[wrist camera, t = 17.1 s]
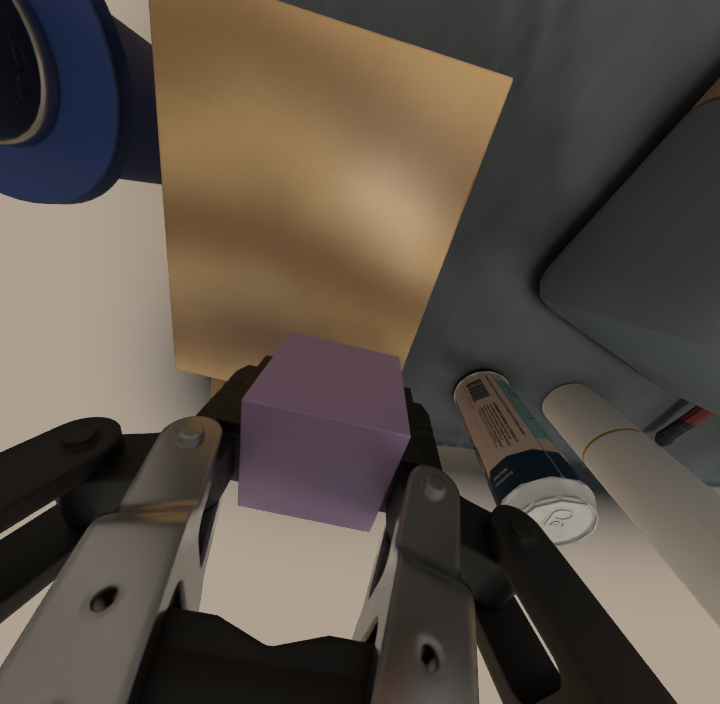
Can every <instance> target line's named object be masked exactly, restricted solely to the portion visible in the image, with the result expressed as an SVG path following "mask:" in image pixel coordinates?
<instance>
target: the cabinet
mask: <svg viewBox="0 0 720 704" xmlns="http://www.w3.org/2000/svg"><path fill="white" fill-rule="evenodd" d="M149 9H150V25H151V38H152V52H153V66H154V80H155V93H156V107H157V121H158V134H159V148H160V162H161V175H162V188H163V202H164V217H165V230H166V244H167V258H168V271H169V285H170V299H171V312H172V326H173V340H174V353H175V366H176V369H179V370H183V371H187V372H191V373H196V374H200V375H204V376H208V377H212V378H216V379H220V380H224V381H228V380H229V378H230V377H231V376H232V375H233V374H234V373H235V372H236V371H237V370H239V369H241V368H243V367H245V366H247V365H253V366H258V365H259V363H260V362H261V361H262V360H263V358H264V357H265V356H266V355H269V356H274V355H275V353H276V352H277V351H278V349H279V348H280V347H281V345H282V344H283V343H284V341H285V340H286V338H287V337H288V336H289V334H290V333H291V332H296V333H300V334H305V335H309V336H313V337H317V338H321V339H326V340H330V341H334V342H338V343H343V344H347V345H351V346H355V347H359V348H364V349H368V350H372V351H376V352H380V353H385V354H389V355H393V356H397V357H399V358H400V365H401V371H402V369H403V366H404V364H405V361H406V358H407V356H408V353H409V351H410V348H411V345H412V343H413V340H414V338H415V335H416V332H417V330H418V327H419V324H420V322H421V319H422V317H423V314H424V311H425V309H426V306H427V304H428V301H429V298H430V296H431V293H432V291H433V288H434V285H435V283H436V280H437V277H438V275H439V272H440V270H441V267H442V264H443V262H444V259H445V257H446V254H447V251H448V249H449V246H450V244H451V241H452V238H453V236H454V233H455V230H456V228H457V225H458V223H459V220H460V217H461V215H462V212H463V210H464V207H465V204H466V202H467V199H468V197H469V194H470V191H471V189H472V186H473V183H474V181H475V178H476V176H477V173H478V170H479V168H480V165H481V163H482V160H483V157H484V155H485V152H486V150H487V147H488V144H489V142H490V139H491V137H492V134H493V131H494V129H495V126H496V123H497V121H498V118H499V116H500V113H501V110H502V108H503V105H504V103H505V100H506V97H507V95H508V92H509V90H510V87H511V84H512V81H513V78H512V77H509V76H506V75H503V74H500V73H497V72H494V71H491V70H488V69H485V68H482V67H478V66H475V65H472V64H469V63H466V62H463V61H460V60H457V59H454V58H451V57H448V56H445V55H442V54H439V53H436V52H433V51H430V50H427V49H424V48H421V47H418V46H415V45H412V44H408V43H405V42H402V41H399V40H396V39H393V38H390V37H387V36H384V35H381V34H378V33H375V32H372V31H369V30H366V29H363V28H360V27H357V26H354V25H351V24H348V23H345V22H342V21H339V20H335V19H332V18H329V17H326V16H323V15H320V14H317V13H314V12H311V11H308V10H305V9H302V8H299V7H296V6H293V5H290V4H287V3H284V2H281V1H278V0H149Z"/></svg>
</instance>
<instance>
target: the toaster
mask: <svg viewBox="0 0 720 704" xmlns="http://www.w3.org/2000/svg"><path fill="white" fill-rule="evenodd" d="M540 297H541V299H542V300H543V301H544V302H545V304H546V305H547V306H548V307H549V308H550V309H551V310H552V311H553V312H554V313H556V314H557V315H559V316H560V317H561V318H563V319H564V320H566V321H567V322H569V323H570V324H571V325H573V326H574V327H576V328H577V329H578V330H580V331H581V332H583V333H584V334H586V335H587V336H588V337H590V338H591V339H593V340H594V341H596V342H597V343H598V344H600V345H601V346H603V347H604V348H606V349H607V350H608V351H610V352H611V353H613V354H614V355H615V356H617V357H618V358H620V359H621V360H623V361H624V362H625V363H627V364H628V365H630V366H631V367H633V368H634V369H635V370H637V371H638V372H640V373H641V374H642V375H644V376H645V377H647V378H648V379H650V380H651V381H652V382H654V383H655V384H657V385H658V386H660V387H661V388H662V389H664V390H665V391H667V392H669V393H671V394H674V395H676V396H678V397H680V398H682V399H684V400H686V401H688V402H691V403H693V404H695V405H697V406H699V407H701V408H703V409H706V410H708V411H710V412H712V413H714V414H716V415H718V416H720V78H719V79H718V80H717V81H716V82H715V83H714V84H713V85H712V87H711V88H710V89H709V90H708V91H707V92H706V93H705V94H704V95H703V97H702V98H701V99H700V100H699V101H698V102H697V103H696V104H695V105H694V106H693V108H692V109H691V110H690V112H689V113H688V114H686V115H685V116H684V117H683V119H682V120H681V121H680V122H679V123H678V124H677V125H676V126H675V127H674V129H673V130H672V131H671V132H670V133H669V134H668V135H667V136H666V137H665V138H664V140H663V141H662V142H661V143H660V144H659V145H658V146H657V147H656V148H655V149H654V151H653V152H652V153H651V154H650V155H649V156H648V157H647V158H646V159H645V160H644V162H643V163H642V164H641V165H640V166H639V167H638V168H637V169H636V170H635V172H634V173H633V174H632V175H631V176H630V177H629V178H628V179H627V180H626V181H625V183H624V184H623V185H622V186H621V187H620V188H619V189H618V190H617V191H616V192H615V194H614V195H613V196H612V197H611V198H610V199H609V200H608V201H607V202H606V204H605V205H604V206H603V207H602V208H601V209H600V210H599V211H598V212H597V213H596V215H595V216H594V217H593V218H592V219H591V220H590V221H589V222H588V223H587V224H586V226H585V227H584V228H583V229H582V230H581V231H580V232H579V233H578V234H577V236H576V237H575V238H574V239H573V240H572V241H571V242H570V243H569V244H568V245H567V247H566V248H565V249H564V250H563V251H562V252H561V253H560V254H559V255H558V256H557V258H556V259H555V260H554V261H553V262H552V263H551V264H550V265H549V266H548V267H547V269H546V271H545V273H544V275H543V276H542V278H541V280H540Z"/></svg>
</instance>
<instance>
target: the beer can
mask: <svg viewBox="0 0 720 704" xmlns="http://www.w3.org/2000/svg"><path fill="white" fill-rule="evenodd" d="M454 401H455V404H456V407H457V409H458V412H459V414H460V417H461V419H462V422H463V424H464V426H465V429H466V431H467V434H468V436H469V439H470V441H471V444H472V446H473V449H474V451H475V453H476V456H477V458H478V461H479V464H480V466H481V468H482V471H483V473H484V476H485V478H486V481H487V483H488V486H489V488H490V491H491V493H492V496H493V498H494V501H495V503H496V506H499V505H510V506H514V507H516V508H518V509H520V510H522V511H523V512H525V513H526V514H528V515H529V516H530V517H531V518H533V519H534V520H535V521H536V522H537V523H538V525H539V526H540V527H541V528H542V529H543V531H544V532H545V533H546V535H547V536H548V537H549V538H550V540H551V541H552V542H553V544H554V545H555V546H556V547H559V546H564V545H569V544H574V543H577V542H579V541H580V540H582V539H583V538H585V537H587V536H588V535H590V534H591V533H593V532H594V531H595V528H596V526H597V522H598V519H599V516H598V514H597V507H596V500H595V497H594V494H593V492H592V491H591V489H590V488H589V487H588V486H587V485H586V484H585V483H584V482H583V480H582V479H581V478H580V476H579V475H578V474H577V472H576V471H575V470H574V469H573V467H572V466H571V465H570V463H569V462H568V461H567V459H566V458H565V457H564V455H563V454H562V453H561V452H560V450H559V449H558V448H557V446H556V445H555V444H554V442H553V441H552V440H551V438H550V437H549V436H548V435H547V433H546V432H545V431H544V429H543V428H542V427H541V425H540V424H539V423H538V421H537V420H536V419H535V418H534V416H533V415H532V414H531V412H530V411H529V410H528V408H527V407H526V406H525V405H524V403H523V402H522V401H521V399H520V398H519V397H518V395H517V394H516V393H515V391H514V390H513V389H512V388H511V386H510V385H509V383H508V381H507V380H506V379H505V378H504V377H503V376H502V375H500V374H498V373H495V372H491V371H482V372H476V373H474V374H471V375H469V376H467V377H465V378H464V379H463V380H462V381H461V382H460V383H459V384H458V385H457V387H456V389H455V392H454Z"/></svg>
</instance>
